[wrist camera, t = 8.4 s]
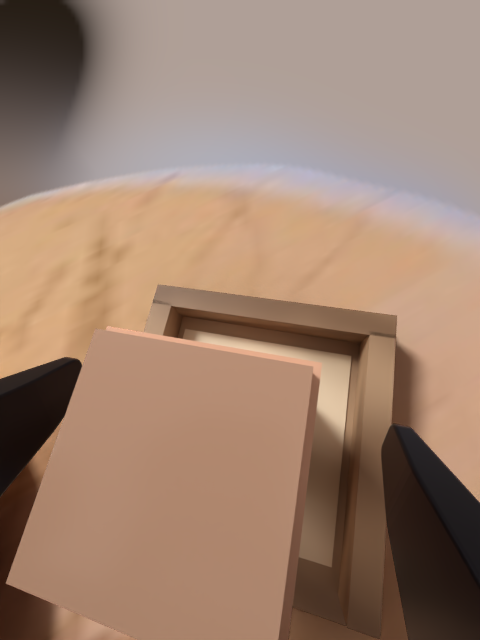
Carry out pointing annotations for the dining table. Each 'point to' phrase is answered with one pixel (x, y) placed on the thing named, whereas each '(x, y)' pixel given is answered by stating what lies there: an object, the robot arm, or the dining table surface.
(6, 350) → the dining table surface
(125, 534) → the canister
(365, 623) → the square wooden tray
